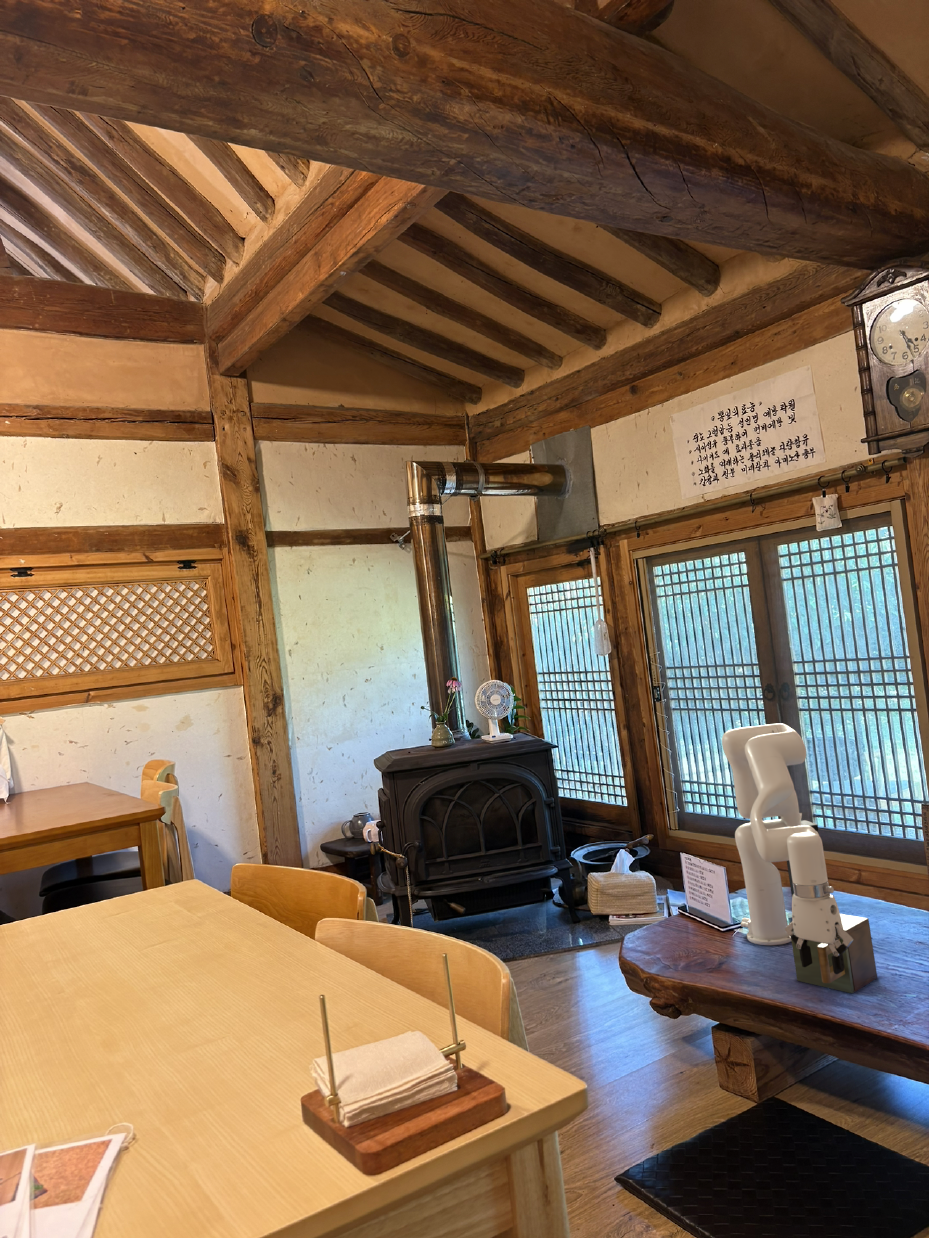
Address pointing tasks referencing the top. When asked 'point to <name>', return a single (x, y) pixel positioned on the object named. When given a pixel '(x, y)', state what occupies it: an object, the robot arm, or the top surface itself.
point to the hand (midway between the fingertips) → (823, 968)
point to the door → (823, 968)
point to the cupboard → (860, 950)
